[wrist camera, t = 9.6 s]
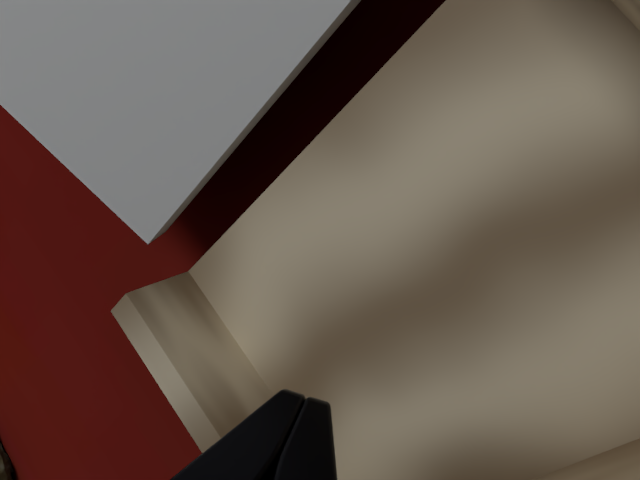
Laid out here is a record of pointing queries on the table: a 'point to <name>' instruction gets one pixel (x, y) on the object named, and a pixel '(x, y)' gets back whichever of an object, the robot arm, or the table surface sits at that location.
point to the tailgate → (152, 87)
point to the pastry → (5, 465)
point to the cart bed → (439, 261)
